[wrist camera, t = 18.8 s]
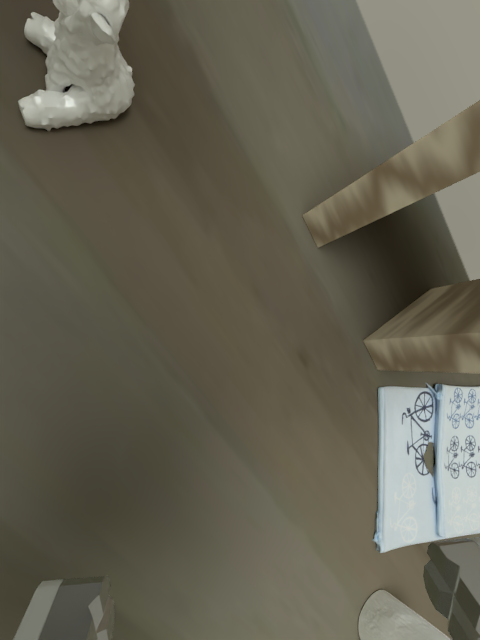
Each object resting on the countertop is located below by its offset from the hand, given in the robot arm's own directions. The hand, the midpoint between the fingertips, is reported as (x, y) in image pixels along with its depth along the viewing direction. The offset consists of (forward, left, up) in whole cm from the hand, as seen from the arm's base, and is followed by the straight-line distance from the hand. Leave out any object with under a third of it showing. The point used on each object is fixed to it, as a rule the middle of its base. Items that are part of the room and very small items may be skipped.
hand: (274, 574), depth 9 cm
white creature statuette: (-28, +10, -24) cm, 38 cm away
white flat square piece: (+24, +28, -24) cm, 44 cm away
